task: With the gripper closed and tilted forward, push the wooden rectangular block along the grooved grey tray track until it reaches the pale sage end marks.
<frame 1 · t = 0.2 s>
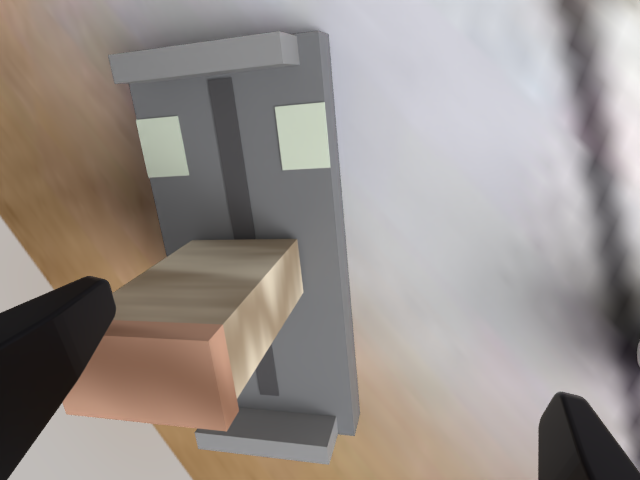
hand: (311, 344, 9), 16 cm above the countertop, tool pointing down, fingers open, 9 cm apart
wooden rectangular block: (202, 310, 20), point 7 cm above the countertop, slide at 0.0 cm
grooved grey tray: (262, 250, 26), on the countertop
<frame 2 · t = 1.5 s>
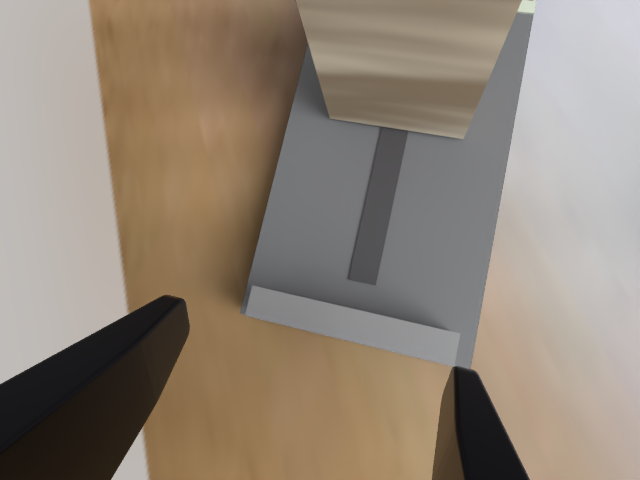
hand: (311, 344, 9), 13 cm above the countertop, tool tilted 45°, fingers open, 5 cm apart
wooden rectangular block: (405, 27, 15), point 7 cm above the countertop, slide at 0.0 cm
grooved grey tray: (400, 119, 22), on the countertop
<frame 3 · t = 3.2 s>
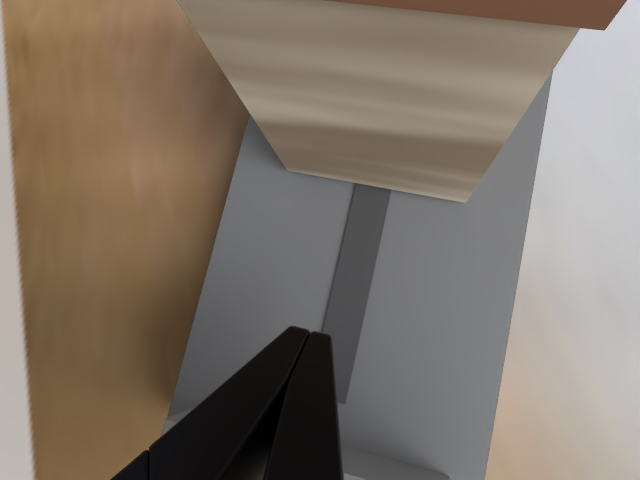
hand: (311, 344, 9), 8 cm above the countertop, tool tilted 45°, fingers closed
wooden rectangular block: (380, 58, 10), point 7 cm above the countertop, slide at 0.0 cm
grooved grey tray: (383, 167, 17), on the countertop
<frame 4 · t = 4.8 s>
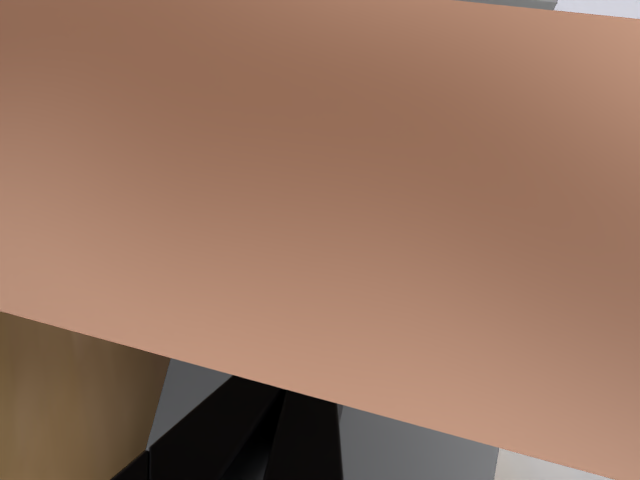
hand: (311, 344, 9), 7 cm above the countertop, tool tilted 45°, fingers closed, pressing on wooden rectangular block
wooden rectangular block: (328, 253, 9), point 7 cm above the countertop, slide at 1.5 cm, touching gripper
grooved grey tray: (345, 327, 16), on the countertop
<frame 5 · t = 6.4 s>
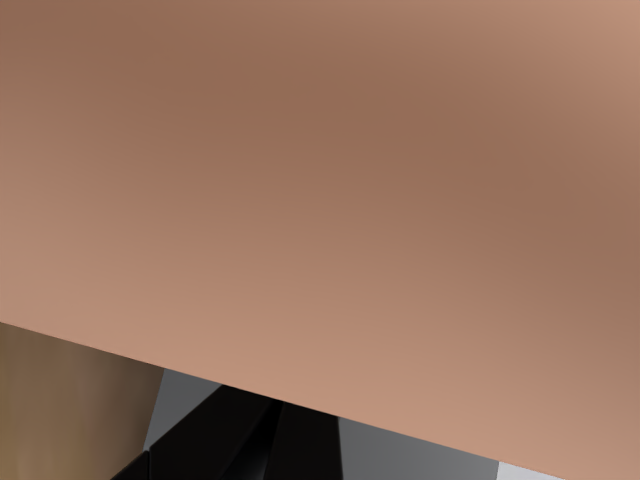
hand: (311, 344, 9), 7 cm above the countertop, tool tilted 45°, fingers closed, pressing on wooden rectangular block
wooden rectangular block: (327, 251, 8), point 7 cm above the countertop, slide at 7.2 cm, touching gripper
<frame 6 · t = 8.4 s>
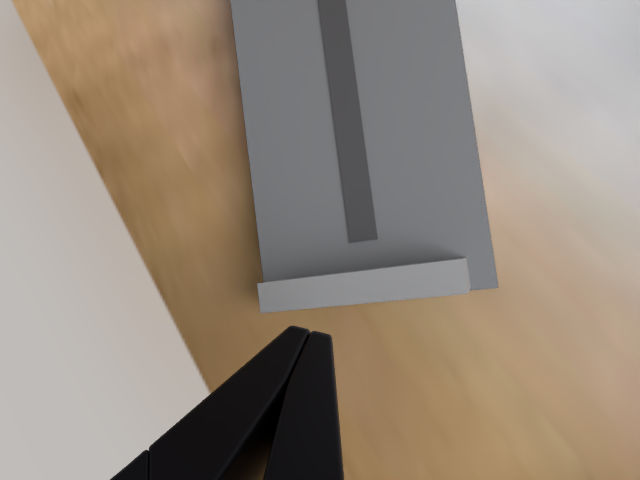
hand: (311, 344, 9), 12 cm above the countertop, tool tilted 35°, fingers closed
grooved grey tray: (351, 65, 21), on the countertop
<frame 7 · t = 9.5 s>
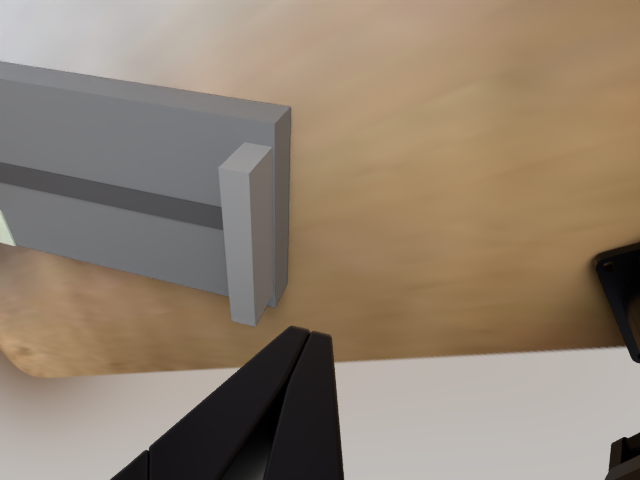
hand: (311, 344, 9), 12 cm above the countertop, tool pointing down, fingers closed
grooved grey tray: (92, 168, 24), on the countertop
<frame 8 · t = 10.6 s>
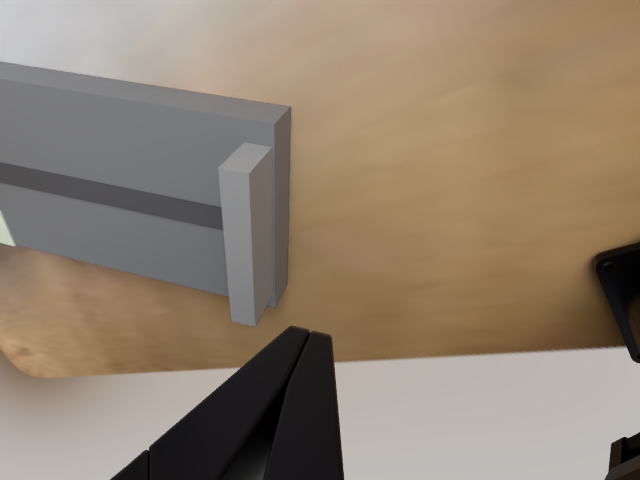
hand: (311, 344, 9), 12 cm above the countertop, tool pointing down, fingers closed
grooved grey tray: (92, 168, 24), on the countertop
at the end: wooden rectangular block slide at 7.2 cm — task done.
